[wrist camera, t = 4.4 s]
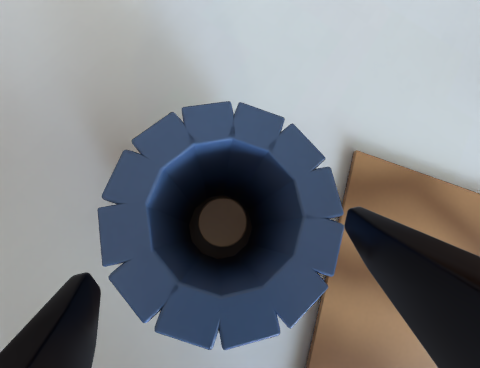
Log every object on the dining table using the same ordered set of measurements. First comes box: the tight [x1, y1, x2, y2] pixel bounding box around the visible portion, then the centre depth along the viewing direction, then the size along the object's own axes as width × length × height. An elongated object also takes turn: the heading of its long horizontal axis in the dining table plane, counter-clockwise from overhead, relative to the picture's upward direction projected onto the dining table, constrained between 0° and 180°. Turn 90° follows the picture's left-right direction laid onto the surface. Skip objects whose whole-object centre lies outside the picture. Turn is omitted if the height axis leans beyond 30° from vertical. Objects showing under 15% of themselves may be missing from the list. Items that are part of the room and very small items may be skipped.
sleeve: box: [98, 101, 344, 350], centre depth 10 cm, size 6×6×8 cm
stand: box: [189, 195, 252, 259], centre depth 13 cm, size 9×9×8 cm
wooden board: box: [306, 150, 480, 368], centre depth 17 cm, size 20×18×1 cm
